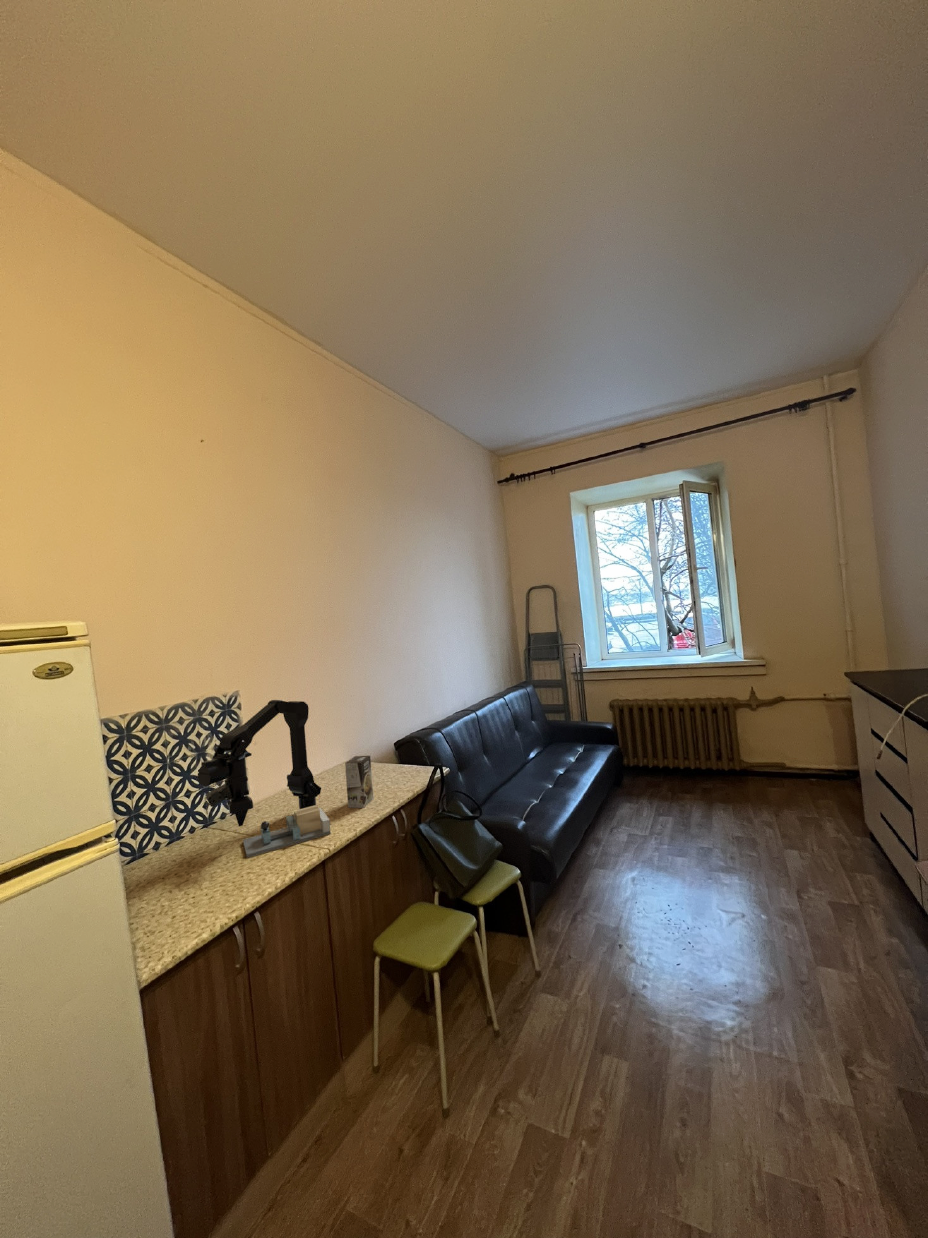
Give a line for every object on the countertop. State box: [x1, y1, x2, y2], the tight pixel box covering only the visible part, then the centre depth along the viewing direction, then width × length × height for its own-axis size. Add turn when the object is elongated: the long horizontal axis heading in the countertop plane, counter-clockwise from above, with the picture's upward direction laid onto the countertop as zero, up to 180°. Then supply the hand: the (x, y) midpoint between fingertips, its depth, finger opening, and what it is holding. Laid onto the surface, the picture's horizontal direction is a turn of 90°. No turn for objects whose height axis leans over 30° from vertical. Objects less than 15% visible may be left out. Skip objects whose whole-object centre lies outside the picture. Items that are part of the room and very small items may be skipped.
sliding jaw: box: [260, 814, 301, 844], centre depth 148 cm, size 12×10×6 cm
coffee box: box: [344, 755, 374, 809], centre depth 175 cm, size 9×6×16 cm
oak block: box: [293, 804, 321, 834], centre depth 153 cm, size 5×7×6 cm
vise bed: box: [242, 807, 331, 859], centre depth 149 cm, size 12×24×4 cm, turn 120°
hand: (240, 825), depth 146 cm, fingers closed
